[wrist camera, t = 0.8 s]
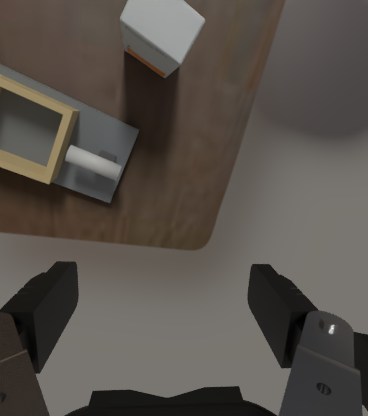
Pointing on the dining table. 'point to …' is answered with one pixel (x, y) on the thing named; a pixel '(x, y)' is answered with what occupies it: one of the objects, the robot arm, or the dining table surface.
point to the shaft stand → (60, 138)
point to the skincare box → (159, 32)
